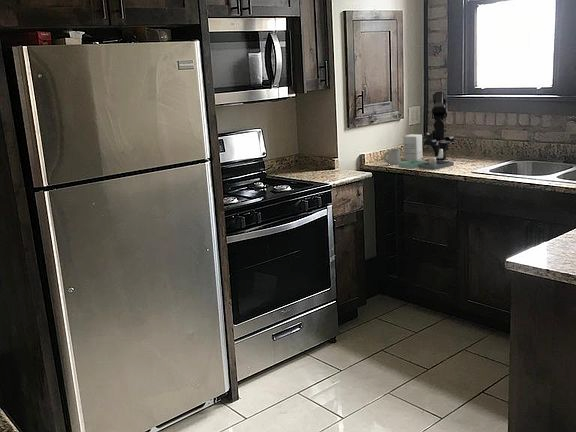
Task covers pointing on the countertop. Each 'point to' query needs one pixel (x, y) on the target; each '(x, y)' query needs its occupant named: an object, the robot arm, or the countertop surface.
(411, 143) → the supplement box
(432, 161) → the far stone
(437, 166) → the grey tray
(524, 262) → the countertop surface
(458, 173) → the countertop surface
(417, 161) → the green bin
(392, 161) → the cup
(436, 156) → the near stone
